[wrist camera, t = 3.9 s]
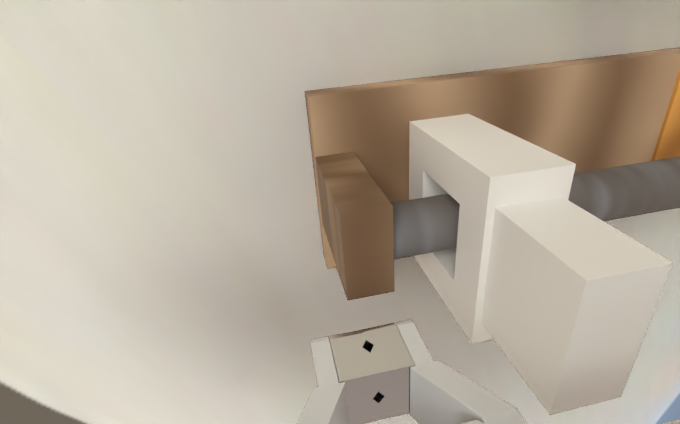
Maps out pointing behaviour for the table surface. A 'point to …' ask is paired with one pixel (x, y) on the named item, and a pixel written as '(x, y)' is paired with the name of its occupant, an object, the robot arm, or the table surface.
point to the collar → (534, 262)
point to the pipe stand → (507, 114)
